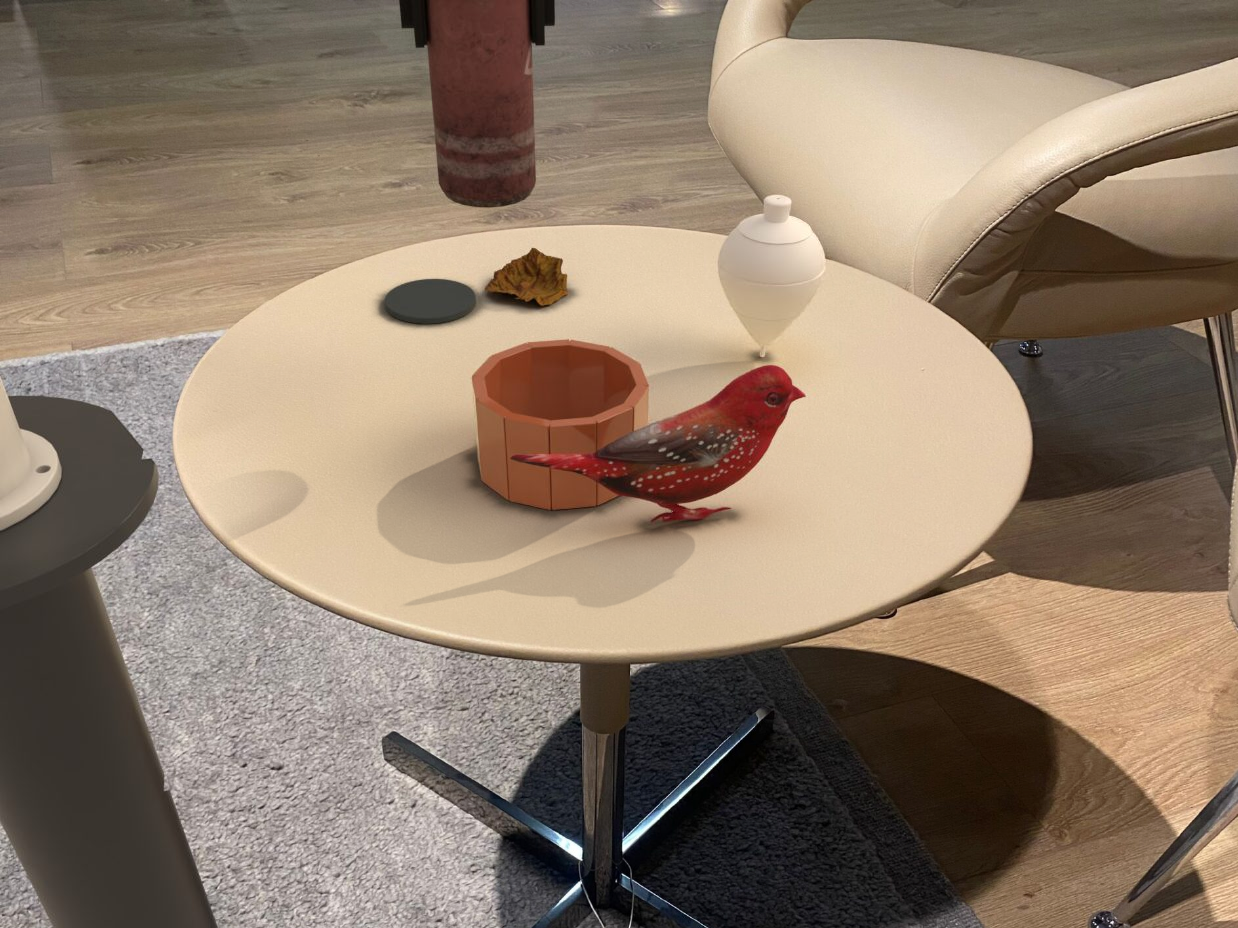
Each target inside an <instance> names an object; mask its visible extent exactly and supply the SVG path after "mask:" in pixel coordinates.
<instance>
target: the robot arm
mask: <svg viewBox="0 0 1238 928" xmlns="http://www.w3.org/2000/svg"><path fill="white" fill-rule="evenodd" d="M398 3H399V4H398V5H399V13H400V14H399V15H400V26H401V29H403V30H404V29H413V35H414V44H415V45H414V46H415V49H424V48H425V46H427V45H428V41H427V28H426V16H425V3H424V0H398ZM530 19H531V41H532V44H535V46H536V47H537V46H538V47H540V46H542V47H543V46H546V45H545V44H546V28H545V27H555V25H556V0H530ZM8 396H9V395H8V394H7V391H6V388H5V385H4V382H3V380H2V377H1V376H0V531H2V530H5V529H7V528H9V527H10V526H12V525H14V524H16V523H18V522H20V521H22V520H23V519H25V518H26V517H28V516H29V515H31V514H32V513H34V512H35V511H37V510H38V509H39V508H40V507H41V506H42V505H43V504H44V503H45V502H47V501H48V500H49V498H50V497H51V496H52V494H53V493H54V492H55V490H56V489H57V487H58V485H59V482H60V480H61V473H62V467H61V464H60V461H59V458H58V455H57V452H56V451H55V449H54V447H53V446H52V444H50V443H49V442H48V441H47V440H46V439H44V438H43V437H41V436H39V435H37V434H35V433H32V432H30V431H26V430H23V429H20V428H19V426H18V423H17V420H16V418H15V415H14V412H13V409H12V407H11V404H10V401H9V398H8Z"/></svg>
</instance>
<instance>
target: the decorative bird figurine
mask: <svg viewBox="0 0 1238 928" xmlns="http://www.w3.org/2000/svg"><path fill="white" fill-rule="evenodd" d="M802 398H807V396H806V394H805V392H803V391H802V390H801V389H800V388H798V387H797V386H795V385H794V384H793V379H792V378H791V376H790V375H789V374H788V373H787V372H786V371H785V369H784V368H782V367H781V366H778V365H776V364H766V365H762V366H758V367H756V368H754V369H751V370H749V371H746V372H745V373H743V374H742V375H739V376H737V377H736V378H734V379H733V380H731V381H730V382H729V383H728V384H726V386H725V387H723V389H721V390H720V391H719V392H718V393H716V394H715V395H714V396H713V397H712V398H710V399H709V400H707V401H705V402H702V403H701V404H699V405H696V406H694V407H691V408H689V409H687V410H685V411H682V412H679V413H677V414H674V415H671V416H668V417H664V418H662V419H659V420H657V421H654V422H651V423H648V425H647V426H645V427H642V428H640V429H638V430H635V431H633V432H631V433H629V434H627V435H625V436H623V437H621V438H619V439H617V440H615V441H613V442H611V443H610V444H608V445H606V446H605V447H603V448H601V449H599V450H598V451H596V452H594V453H589V454H525V455H514V456H512V457H511V458H510V459H512V460H515V461H517V462H521V463H526V464H531V465H537V466H542V467H549V468H553V469H558V470H564V471H570V472H575V473H578V474H581V475H584V476H586V477H588V478H591V479H592V480H594V481H595V482H598V483H599V484H601V485H602V486H604V487H605V488H607V489H608V490H610V491H612V492H613V493H615V494H617V495H619V496H620V497H621V496H622V497H627V498H633V499H638V500H643V501H646V502H651V503H653V504H656V505H658V506H659V507H660V508H664V509H667V510H670V511H669V512H668V511H666V512H662V513H659V514H658V515H656V516H654V517H653V518H652V519H651V520H650V521H649V523H653V522H655V521H658V520H659V519H661V522H663V523H667V522H673V521H682V520H693V521H694V520H695V521H698V520H702V519H705V518H707V517H708V516H710V515H712V514H715V513H716V514H717V513H719V512H723V511H728V510H732V507H729V506H722V507H719V508H715V509H713V508H712V509H711V508H708V507H705V506H702V507H696V508H695V507H694V508H690V507H686V506H685V505H682V504H690V503H694V502H697V501H700V500H705V499H707V498H710V497H712V496H715V495H717V494H719V493H721V492H723V491H725V490H726V489H728V488H730V487H731V486H734V485H735V484H736V483H738V482H739V481H741V480H742V479H743V478H745V476H747V475H748V474H749V473H750V472H751V471H752V470H753V469H754V468H755V467H756V466H757V465H758V463H760V461H761V460H762V459H763V457H764V456H765V455H766V453H767V451H768V450H769V448H770V446H771V444H772V441H773V439H774V438H775V436H776V434H777V432H778V431H779V428H780V427H781V425H782V424H784V421H785V419H786V417H787V415H788V411H789V409H790V406H791V405H792V403H793V402H795V401H798V400H799V399H802Z"/></svg>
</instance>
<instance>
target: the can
mask: <svg viewBox="0 0 1238 928" xmlns="http://www.w3.org/2000/svg"><path fill="white" fill-rule="evenodd" d="M424 3H425V16H426V28H427V41H428V45H426V46H427V58H428V59H427V60H428V72H429V85H430V93H431V94H430V95H431V106H432V108H431V109H432V117H433V119H432V121H433V131H434V141H435V142H434V144H435V154H436V156H435V157H436V167H437V168H436V169H437V179H438V185H439V187H440V189H441V191H442V192H443V194H444V195H445V197H446V198H447V199H449V200H450V201H452V202H454V203H456V204H459V205H462V206H466V207H471V208H485V209H490V208H492V209H493V208H500V207H501V208H503V207H508V206H512V205H516V204H519V203H521V202H523V201H525V200H526V199H527V198H529V197H530V196H531V194H532V192H533V190H534V188H535V186H536V182H537V171H536V170H537V169H536V166H537V165H536V139H535V138H536V137H535V136H536V133H535V105H534V102H535V101H534V72H533V69H534V68H533V43H532V41H531V19H530V0H424Z"/></svg>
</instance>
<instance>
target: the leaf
mask: <svg viewBox="0 0 1238 928" xmlns="http://www.w3.org/2000/svg"><path fill="white" fill-rule="evenodd" d="M563 262H564V260H563V258H561V257H557V256H552V255H547V254H544V252H541V251H540V250H538V249H537V248H536V247H531V249H530V250H529V251H528V252H527V254H523V255H521V256H520V257H518V258H516V259H515V258H514V259H511V261H510V262H508V263H506V264H505V265H504V266H503V267H502V268H499V269H498V270H495V271H493V278H491V279H490V280H489V282H488V283H487V285H486V286H485V287H484V291H487V292H489V294H491V293H493V292H494V293H502V294H503V295H515V296H516V297H515V299H516V300H524V301H525V302H530V301H536V302H537V303H538V304H539V305H540V306H543V307H544V306H547V305H550V306H551V305H552V304H553V303H555V302H557V301H559V300H560V299H561V298H563V297H564V296H566V295H569V292H568V288H567V286H568V284H567V283H568V281H567V280H568V274H567V273H563V272H562V267H563V266H562V265H563Z"/></svg>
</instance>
